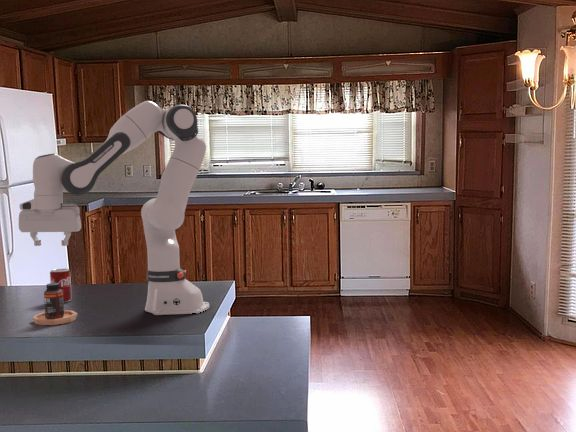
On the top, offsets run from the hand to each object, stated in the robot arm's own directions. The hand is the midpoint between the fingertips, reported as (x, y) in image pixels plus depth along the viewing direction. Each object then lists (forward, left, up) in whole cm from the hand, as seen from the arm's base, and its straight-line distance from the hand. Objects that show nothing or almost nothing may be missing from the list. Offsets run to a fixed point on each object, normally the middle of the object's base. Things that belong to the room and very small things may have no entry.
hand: (51, 245), depth 200 cm
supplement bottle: (0, 0, -24) cm, 24 cm away
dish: (0, 0, -25) cm, 25 cm away
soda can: (+12, -27, -25) cm, 39 cm away
